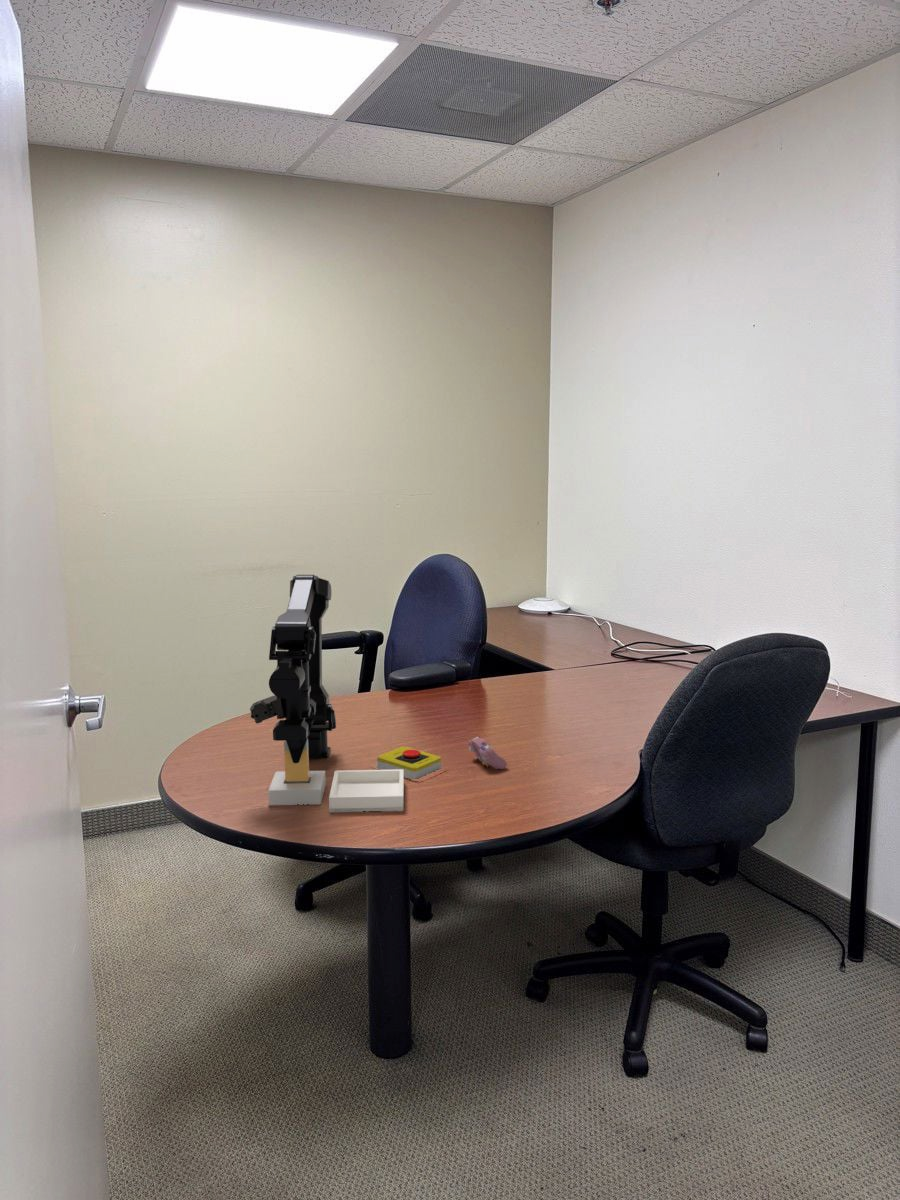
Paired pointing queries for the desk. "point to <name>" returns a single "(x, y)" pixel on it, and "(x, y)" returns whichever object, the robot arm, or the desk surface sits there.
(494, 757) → the video game controller
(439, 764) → the emergency button
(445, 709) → the desk surface
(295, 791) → the white slotted block
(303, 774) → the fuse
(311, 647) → the robot arm
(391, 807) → the parts tray
